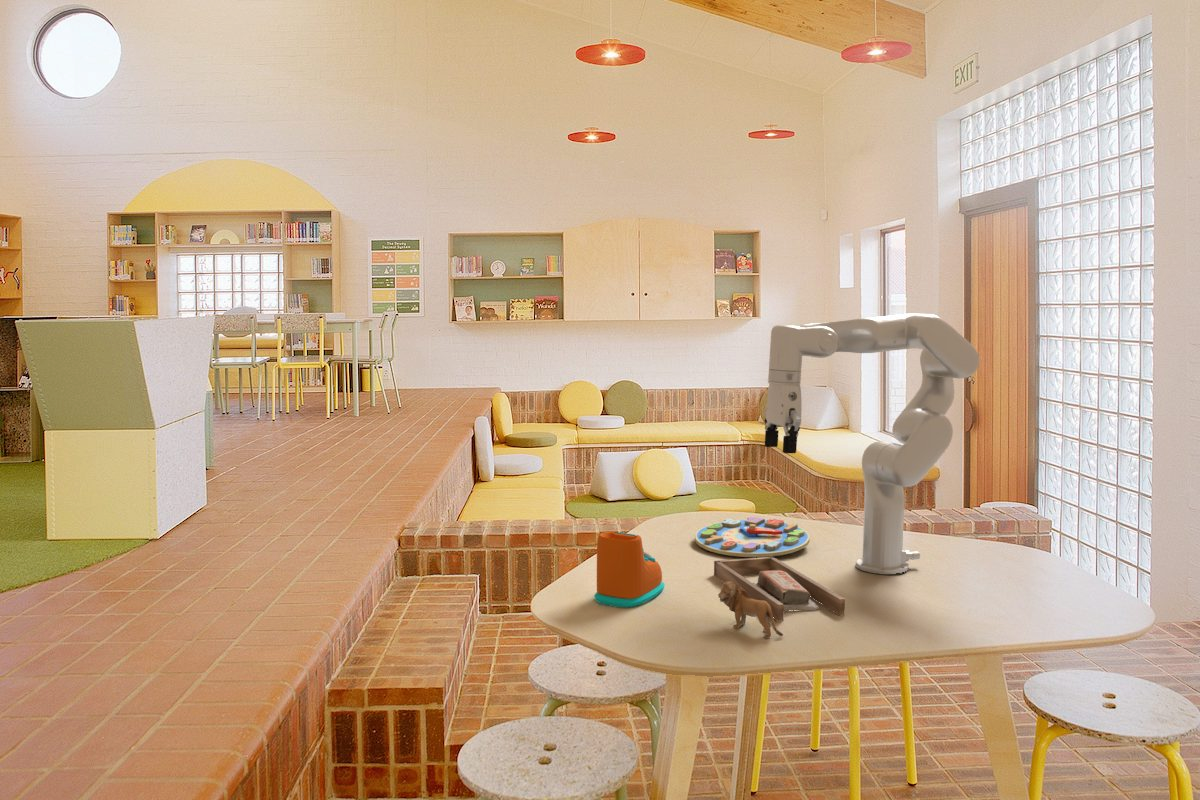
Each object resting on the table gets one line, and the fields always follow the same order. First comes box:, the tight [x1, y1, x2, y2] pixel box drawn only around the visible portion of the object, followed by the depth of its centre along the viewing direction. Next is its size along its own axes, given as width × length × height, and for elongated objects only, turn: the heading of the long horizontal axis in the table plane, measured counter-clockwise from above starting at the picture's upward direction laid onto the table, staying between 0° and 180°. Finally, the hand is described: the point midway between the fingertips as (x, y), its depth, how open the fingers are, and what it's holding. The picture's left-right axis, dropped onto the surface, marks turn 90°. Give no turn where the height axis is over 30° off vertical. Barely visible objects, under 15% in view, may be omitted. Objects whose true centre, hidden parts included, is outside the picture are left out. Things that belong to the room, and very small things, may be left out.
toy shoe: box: [593, 531, 665, 608], centre depth 223 cm, size 12×20×15 cm, turn 151°
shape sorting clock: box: [694, 516, 811, 558], centre depth 268 cm, size 31×30×6 cm
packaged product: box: [752, 570, 819, 612], centre depth 221 cm, size 18×5×10 cm
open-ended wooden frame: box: [713, 556, 846, 622], centre depth 225 cm, size 15×35×4 cm, turn 16°
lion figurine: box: [717, 582, 784, 639], centre depth 200 cm, size 15×5×9 cm, turn 50°
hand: (780, 449), depth 235 cm, fingers open, 9 cm apart
